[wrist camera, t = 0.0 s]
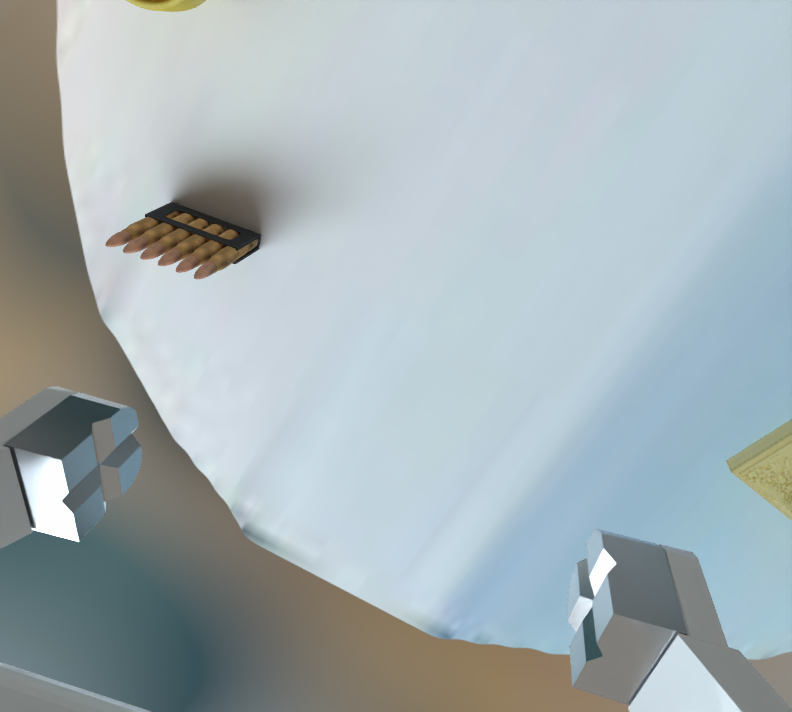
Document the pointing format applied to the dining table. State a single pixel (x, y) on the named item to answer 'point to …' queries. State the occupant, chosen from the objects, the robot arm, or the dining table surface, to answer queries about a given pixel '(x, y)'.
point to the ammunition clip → (187, 240)
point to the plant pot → (167, 4)
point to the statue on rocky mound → (768, 467)
